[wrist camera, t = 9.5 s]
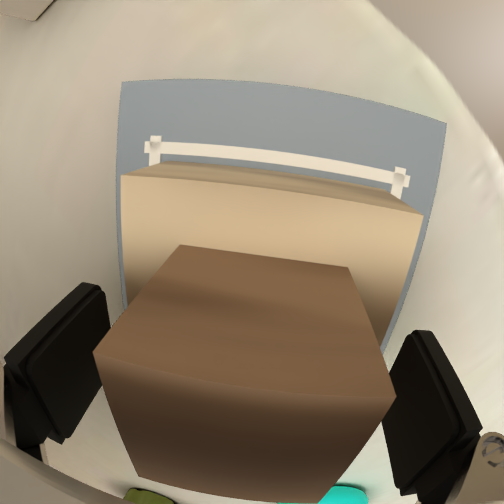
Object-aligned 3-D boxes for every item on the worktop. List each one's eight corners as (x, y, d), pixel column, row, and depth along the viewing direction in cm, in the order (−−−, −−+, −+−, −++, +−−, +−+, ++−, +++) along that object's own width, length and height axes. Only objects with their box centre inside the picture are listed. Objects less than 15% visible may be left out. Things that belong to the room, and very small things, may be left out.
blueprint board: (357, 393, 17) (359, 404, 16) (138, 362, 18) (133, 371, 17) (438, 123, 11) (447, 123, 10) (130, 83, 12) (120, 81, 11)
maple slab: (336, 360, 15) (345, 418, 11) (168, 336, 15) (140, 388, 12) (383, 189, 12) (423, 215, 8) (167, 160, 12) (120, 174, 8)
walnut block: (312, 385, 11) (317, 503, 6) (182, 366, 11) (138, 476, 6) (347, 267, 9) (396, 396, 4) (179, 244, 9) (92, 351, 4)
